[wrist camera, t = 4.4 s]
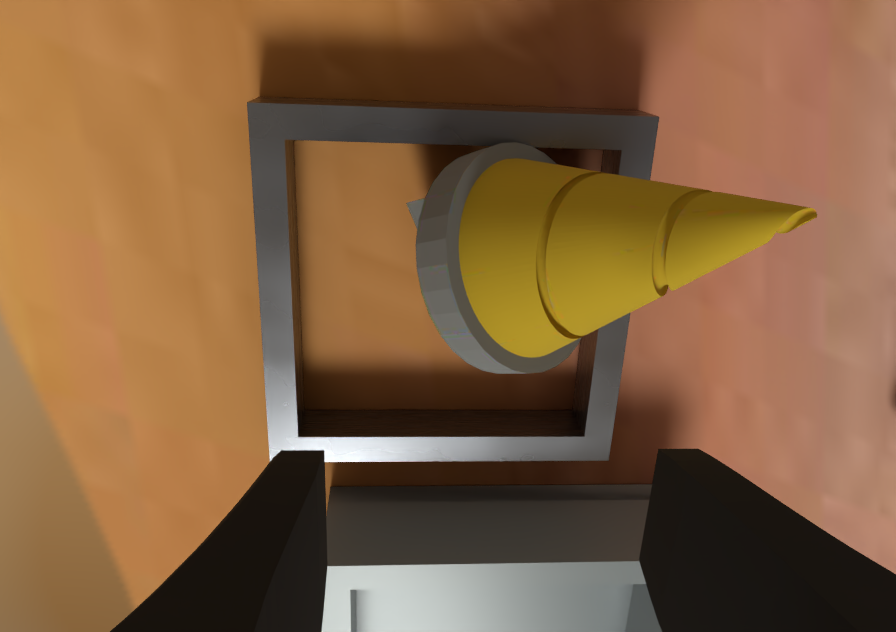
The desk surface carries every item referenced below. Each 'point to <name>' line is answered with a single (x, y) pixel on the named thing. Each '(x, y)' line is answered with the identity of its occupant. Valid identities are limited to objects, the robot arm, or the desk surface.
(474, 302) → the drill bit
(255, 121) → the grey square frame
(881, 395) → the desk surface
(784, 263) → the desk surface
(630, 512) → the bin
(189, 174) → the desk surface
